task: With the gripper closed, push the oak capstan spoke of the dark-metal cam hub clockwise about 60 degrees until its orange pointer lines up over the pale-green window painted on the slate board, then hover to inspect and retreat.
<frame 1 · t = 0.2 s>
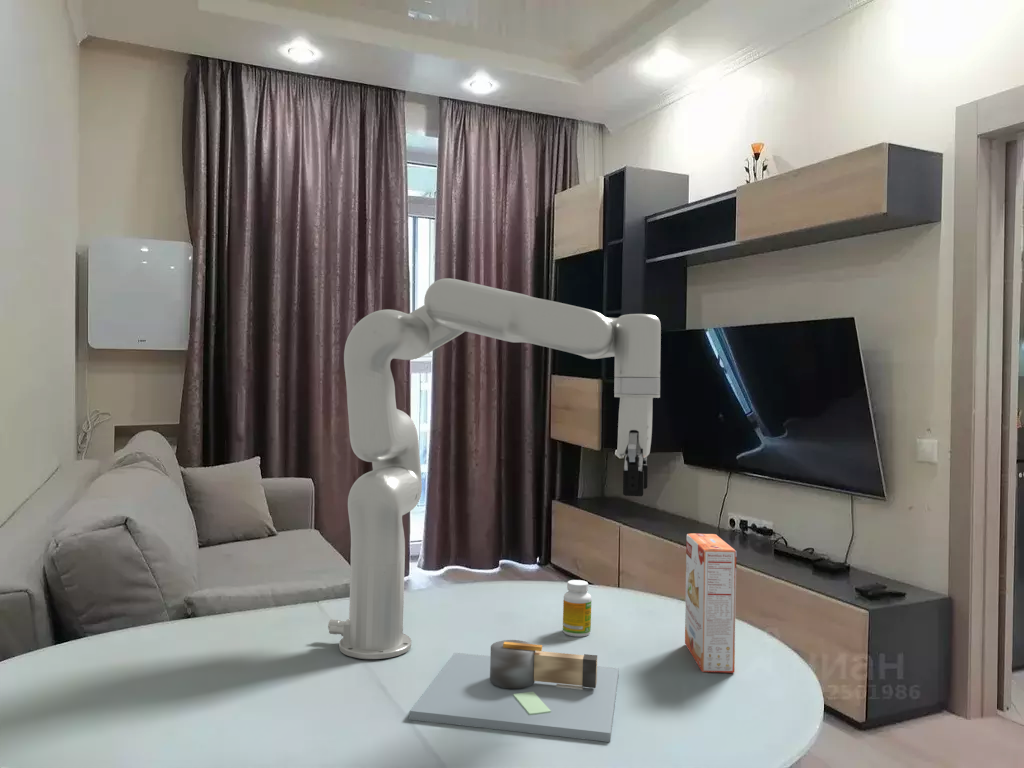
hand: (635, 491, 126), 30 cm above the table, tool pointing down, fingers open, 9 cm apart
supplement bottle: (576, 633, 146), on the table
cracker box: (707, 659, 134), on the table
board: (522, 695, 115), on the table
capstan: (542, 664, 117), point 4 cm above the table, hinge at 0.0°
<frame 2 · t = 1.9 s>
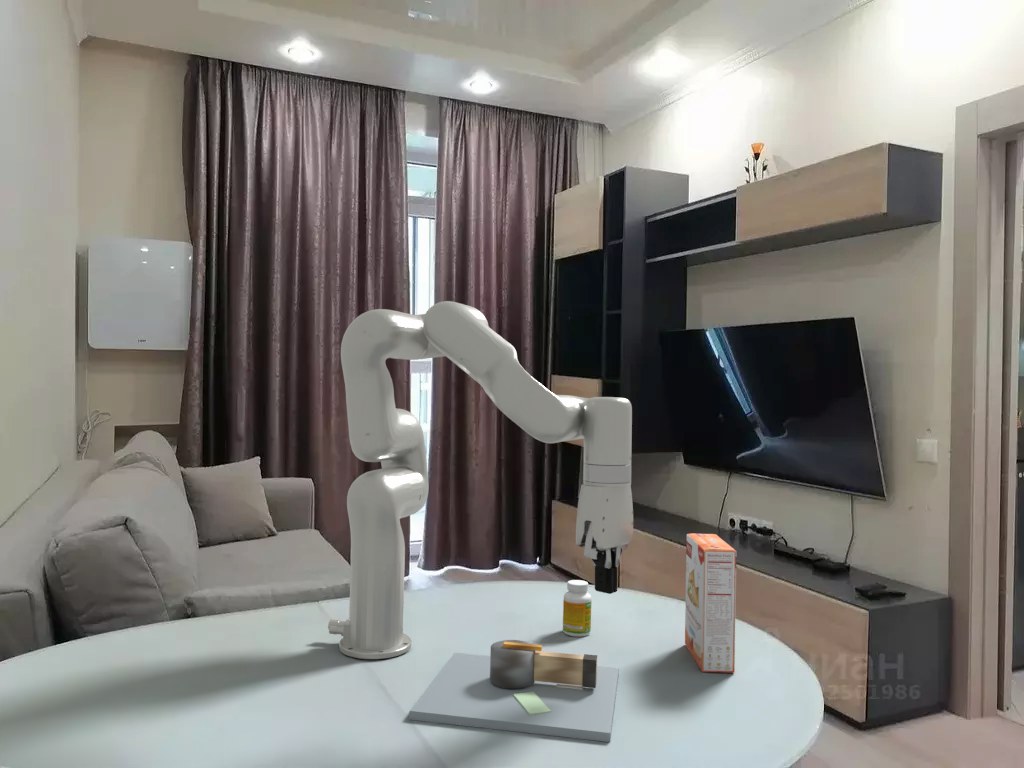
hand: (605, 591, 119), 15 cm above the table, tool pointing down, fingers closed
nothing on the table moved.
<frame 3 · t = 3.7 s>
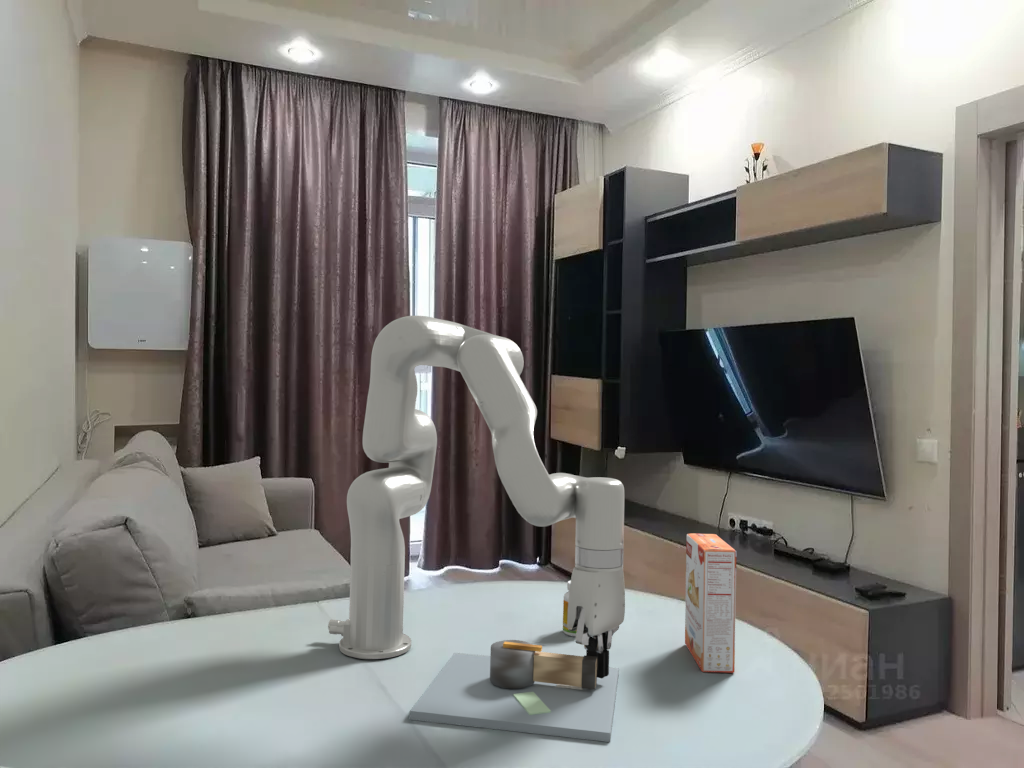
hand: (597, 674, 118), 2 cm above the table, tool pointing down, fingers closed
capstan: (542, 665, 117), point 4 cm above the table, hinge at -2.8°, touching gripper
everything else where it was.
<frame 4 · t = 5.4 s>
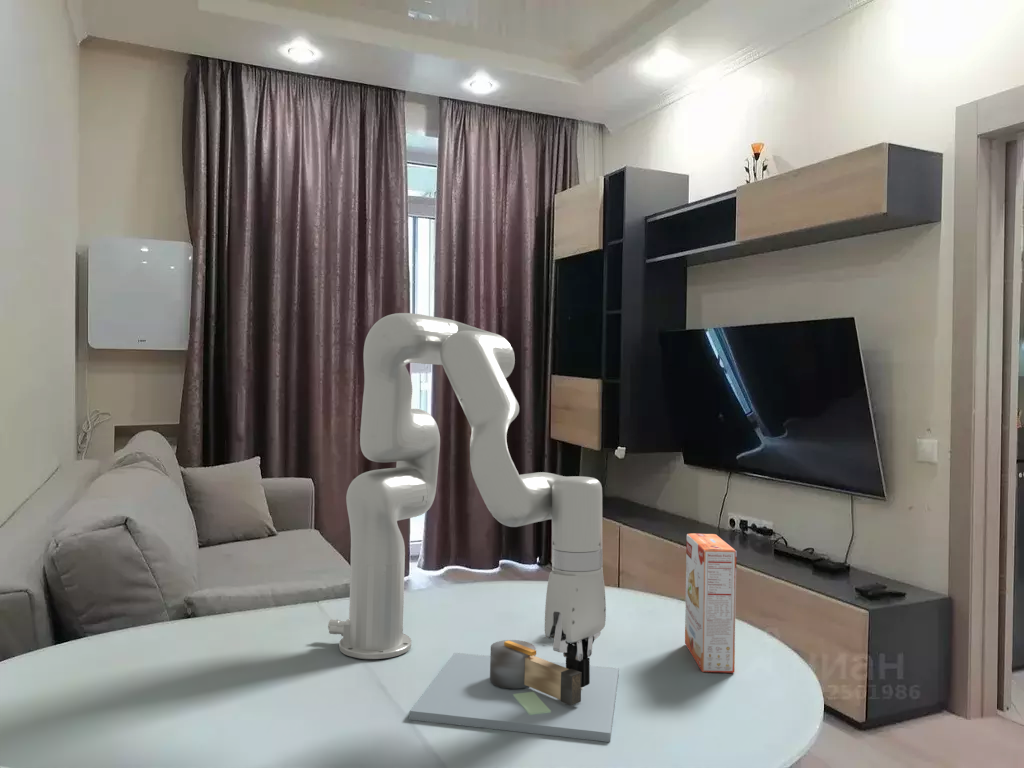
hand: (577, 683, 113), 3 cm above the table, tool pointing down, fingers closed
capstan: (534, 670, 114), point 4 cm above the table, hinge at -34.8°, touching gripper
everything else where it was.
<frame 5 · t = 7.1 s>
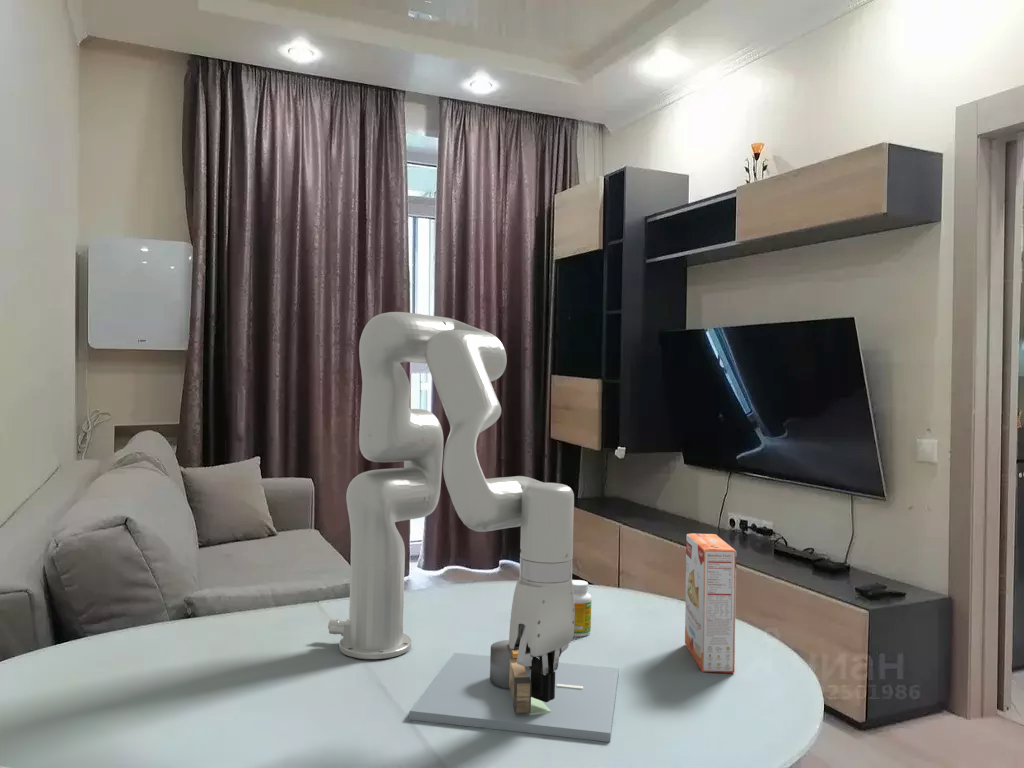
hand: (542, 698, 108), 3 cm above the table, tool pointing down, fingers closed
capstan: (516, 673, 113), point 4 cm above the table, hinge at -72.9°, touching gripper
everything else where it was.
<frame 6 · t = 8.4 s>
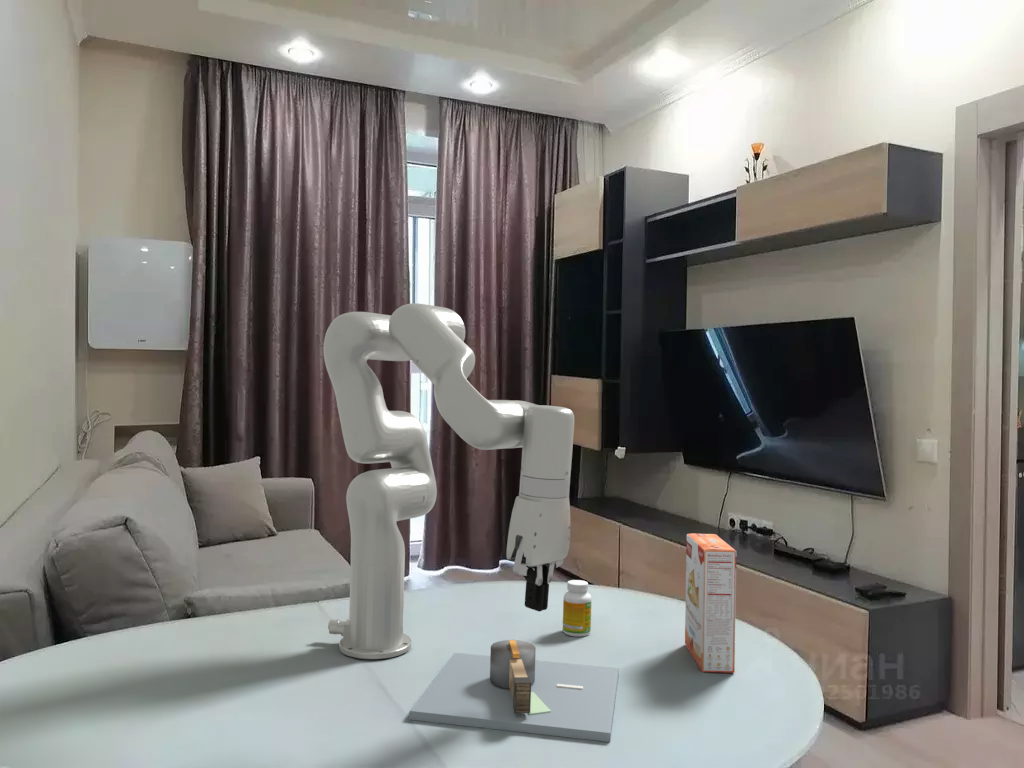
hand: (535, 607, 114), 14 cm above the table, tool pointing down, fingers closed
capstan: (516, 673, 113), point 4 cm above the table, hinge at -73.1°
everything else where it was.
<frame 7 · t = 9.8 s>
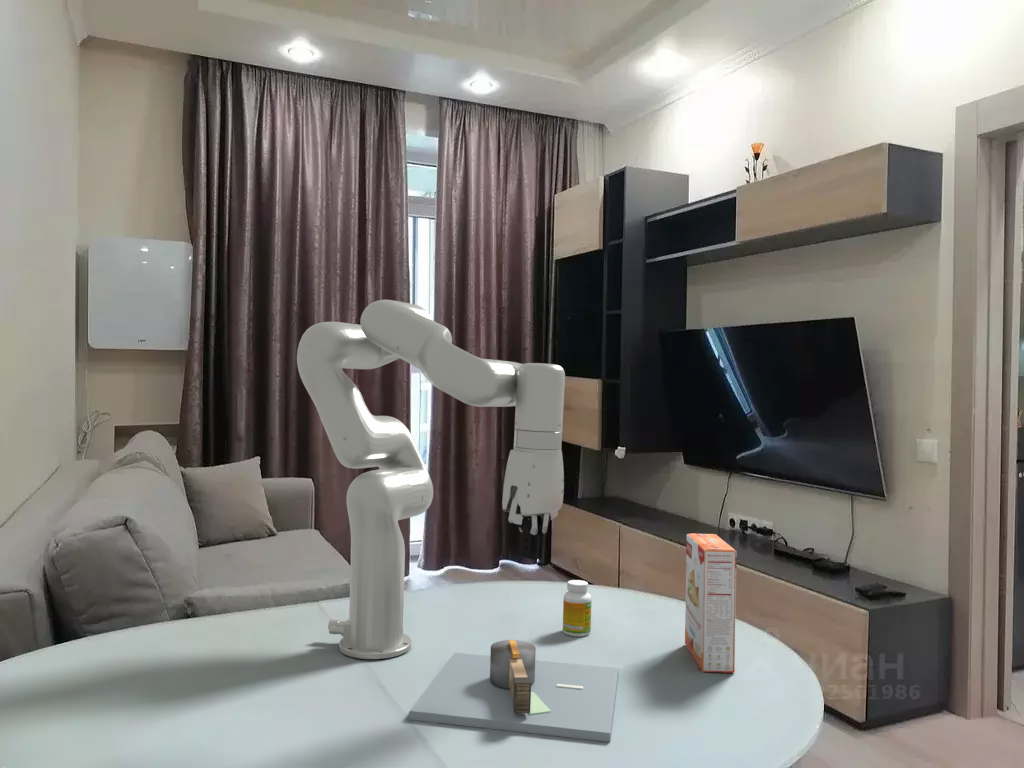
hand: (531, 557, 119), 20 cm above the table, tool pointing down, fingers closed
nothing on the table moved.
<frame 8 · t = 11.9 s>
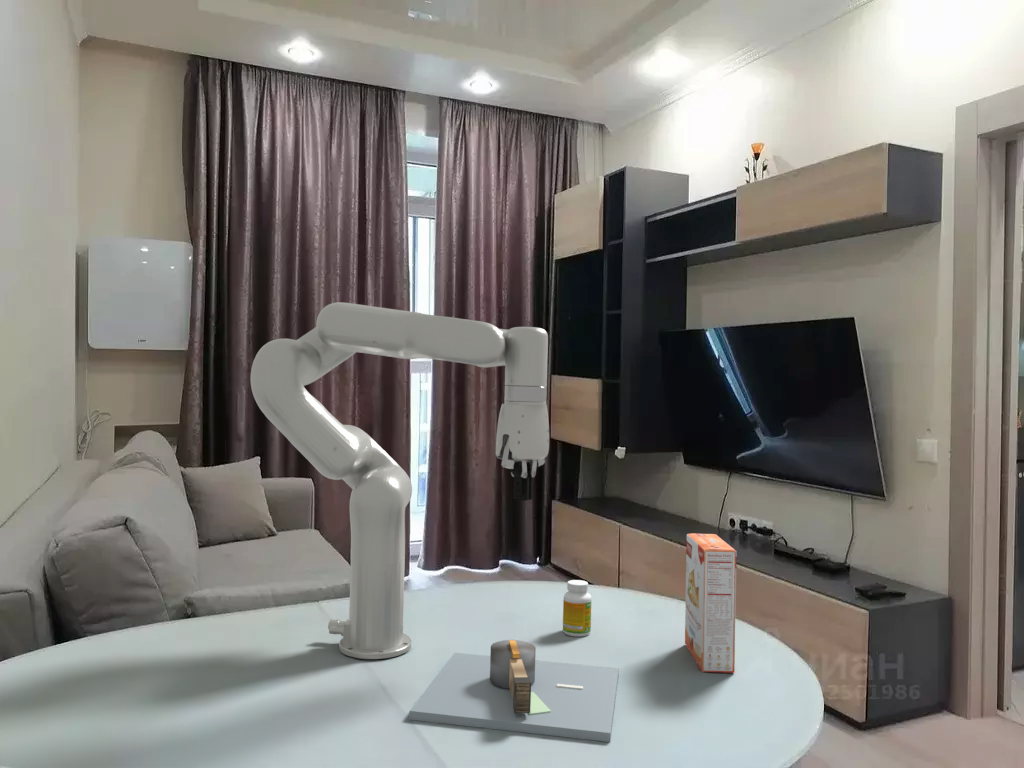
hand: (522, 499, 135), 27 cm above the table, tool pointing down, fingers closed
nothing on the table moved.
at the end: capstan at -73° (first picture: +0°) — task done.
